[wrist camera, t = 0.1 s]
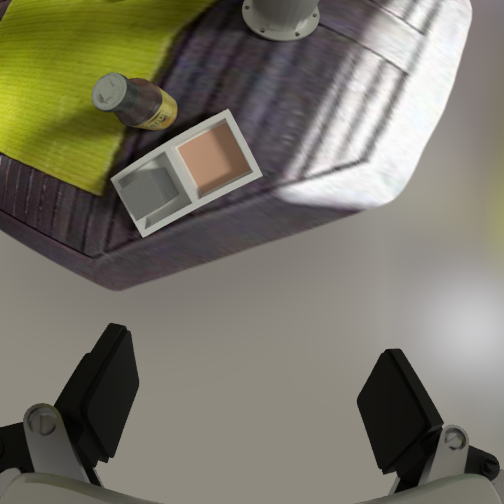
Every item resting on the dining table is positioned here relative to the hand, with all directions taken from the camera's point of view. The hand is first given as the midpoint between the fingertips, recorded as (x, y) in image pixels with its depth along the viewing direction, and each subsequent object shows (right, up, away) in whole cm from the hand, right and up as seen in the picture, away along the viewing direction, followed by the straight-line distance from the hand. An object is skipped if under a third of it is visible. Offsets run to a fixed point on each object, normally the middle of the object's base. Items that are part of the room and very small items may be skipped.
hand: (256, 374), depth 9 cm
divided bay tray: (-11, +17, +33) cm, 39 cm away
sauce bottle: (-14, +27, +30) cm, 42 cm away
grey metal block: (-15, +15, +33) cm, 39 cm away
